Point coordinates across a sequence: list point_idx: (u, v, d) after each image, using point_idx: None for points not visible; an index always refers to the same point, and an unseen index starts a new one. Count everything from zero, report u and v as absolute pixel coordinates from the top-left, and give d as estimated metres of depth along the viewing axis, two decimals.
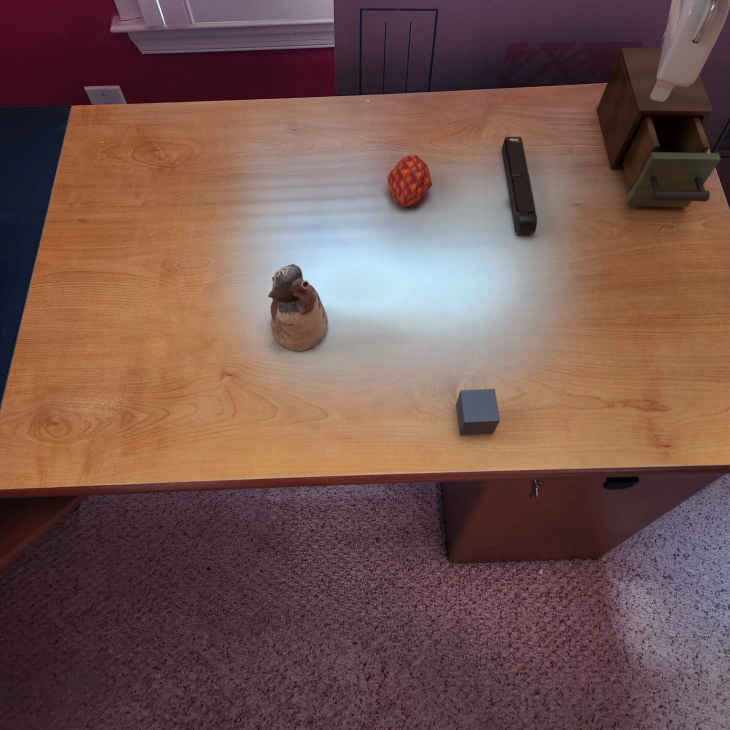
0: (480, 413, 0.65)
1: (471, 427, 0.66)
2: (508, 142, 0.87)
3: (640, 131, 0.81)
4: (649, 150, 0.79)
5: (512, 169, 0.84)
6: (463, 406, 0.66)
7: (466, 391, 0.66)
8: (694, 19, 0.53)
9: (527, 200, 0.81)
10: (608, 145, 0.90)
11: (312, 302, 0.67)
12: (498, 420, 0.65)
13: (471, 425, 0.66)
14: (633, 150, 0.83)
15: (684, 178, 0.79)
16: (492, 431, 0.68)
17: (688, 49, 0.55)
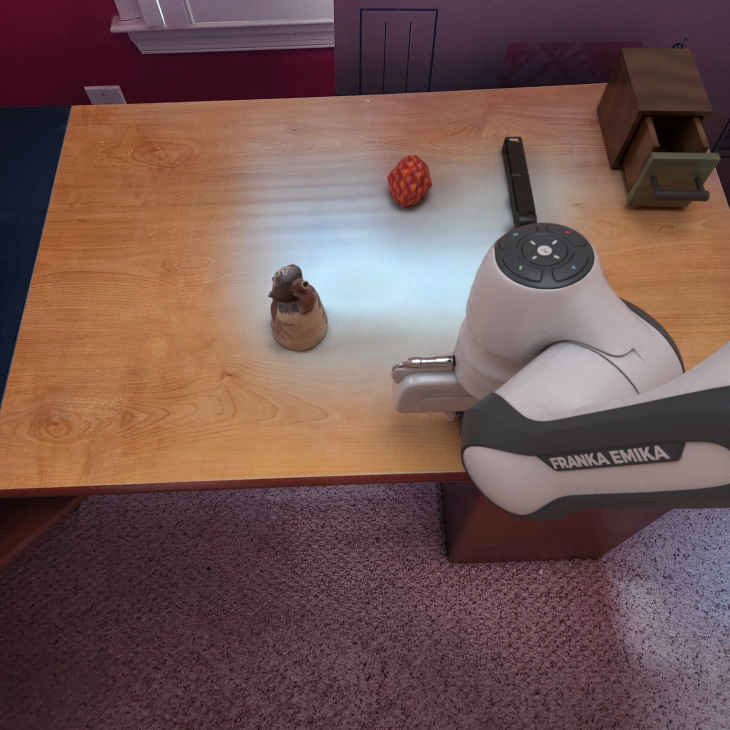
0: None
1: None
2: (508, 142, 0.87)
3: (640, 131, 0.81)
4: (649, 150, 0.79)
5: (512, 169, 0.84)
6: None
7: None
8: None
9: (527, 200, 0.81)
10: (608, 145, 0.90)
11: (312, 302, 0.67)
12: None
13: None
14: (633, 150, 0.83)
15: (684, 178, 0.79)
16: None
17: None
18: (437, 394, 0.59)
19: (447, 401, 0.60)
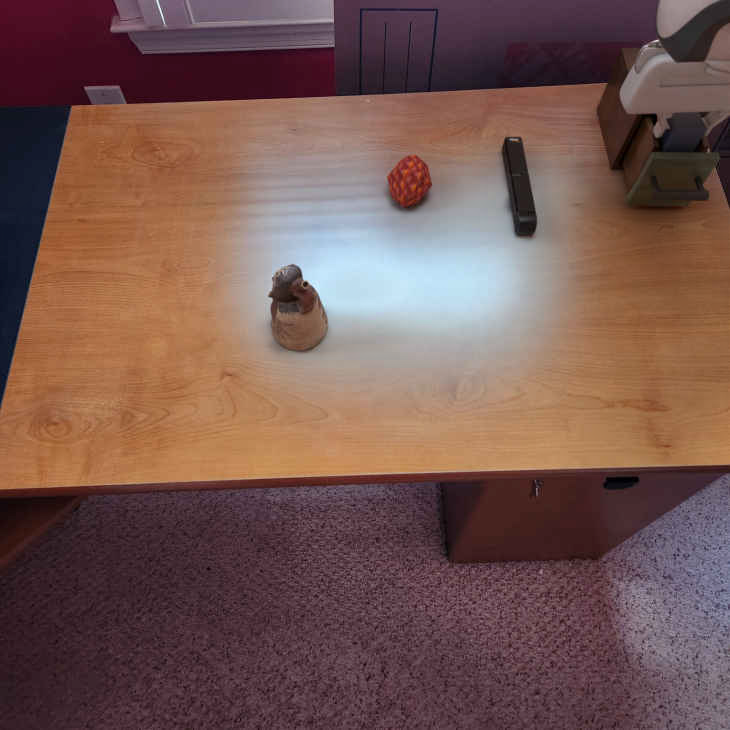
0: (689, 124, 0.75)
1: (678, 140, 0.76)
2: (508, 142, 0.87)
3: (640, 131, 0.81)
4: (648, 149, 0.79)
5: (512, 169, 0.84)
6: (673, 120, 0.76)
7: None
8: None
9: (527, 200, 0.81)
10: (608, 145, 0.90)
11: (312, 302, 0.67)
12: (705, 129, 0.75)
13: (680, 137, 0.76)
14: (633, 150, 0.83)
15: (684, 178, 0.79)
16: (692, 149, 0.78)
17: (632, 76, 0.70)
18: (671, 81, 0.69)
19: (677, 91, 0.70)
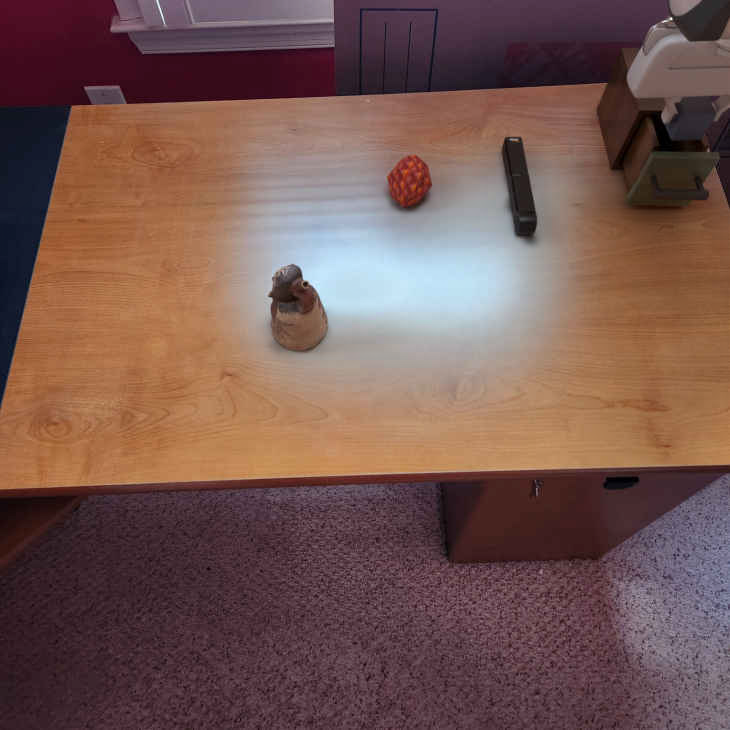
0: (698, 109, 0.73)
1: (687, 126, 0.74)
2: (508, 142, 0.87)
3: (640, 130, 0.81)
4: (648, 149, 0.79)
5: (512, 169, 0.84)
6: (682, 104, 0.74)
7: None
8: None
9: (527, 200, 0.81)
10: (608, 145, 0.90)
11: (312, 302, 0.67)
12: (715, 114, 0.73)
13: (689, 122, 0.74)
14: (633, 149, 0.83)
15: (684, 177, 0.79)
16: (701, 135, 0.76)
17: (641, 59, 0.68)
18: (681, 63, 0.67)
19: (686, 74, 0.68)
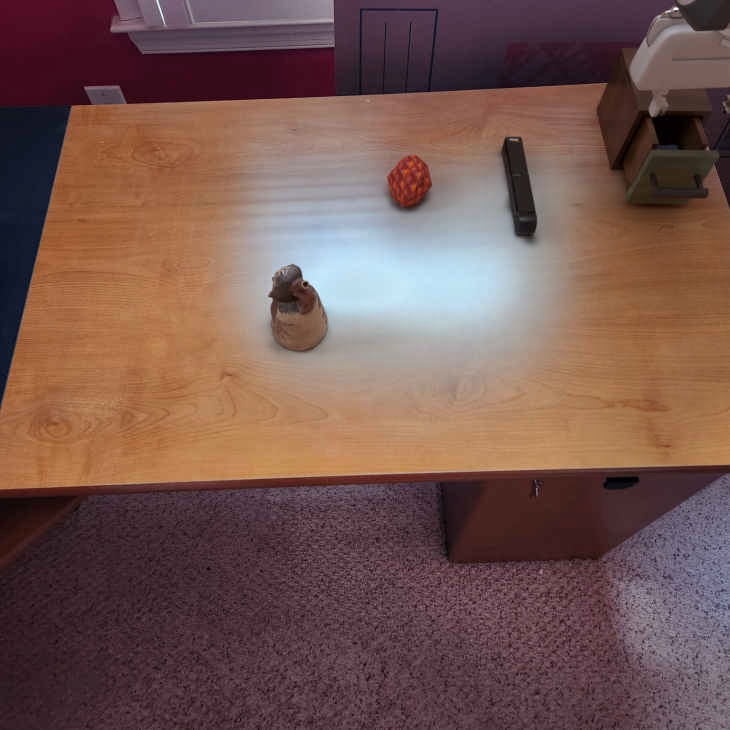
0: None
1: None
2: (508, 142, 0.87)
3: (639, 129, 0.82)
4: (648, 147, 0.79)
5: (512, 169, 0.84)
6: None
7: None
8: None
9: (527, 200, 0.81)
10: (608, 145, 0.90)
11: (312, 302, 0.67)
12: None
13: None
14: (632, 148, 0.84)
15: (683, 175, 0.79)
16: None
17: (644, 50, 0.67)
18: (685, 54, 0.66)
19: (690, 66, 0.67)
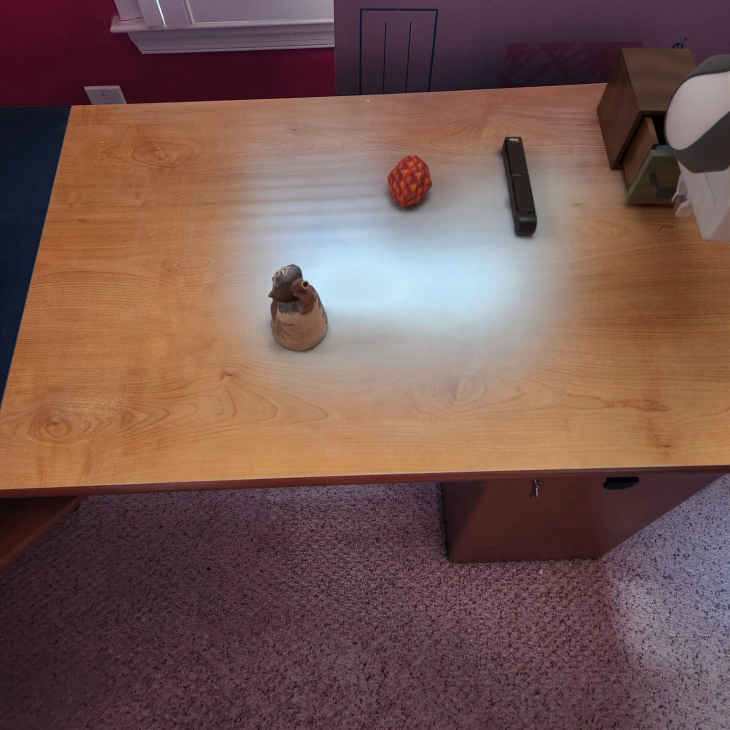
0: None
1: None
2: (508, 142, 0.87)
3: (639, 129, 0.82)
4: (648, 147, 0.79)
5: (512, 169, 0.84)
6: None
7: None
8: None
9: (527, 200, 0.81)
10: (608, 145, 0.90)
11: (312, 302, 0.67)
12: None
13: None
14: (632, 148, 0.84)
15: None
16: None
17: None
18: None
19: None
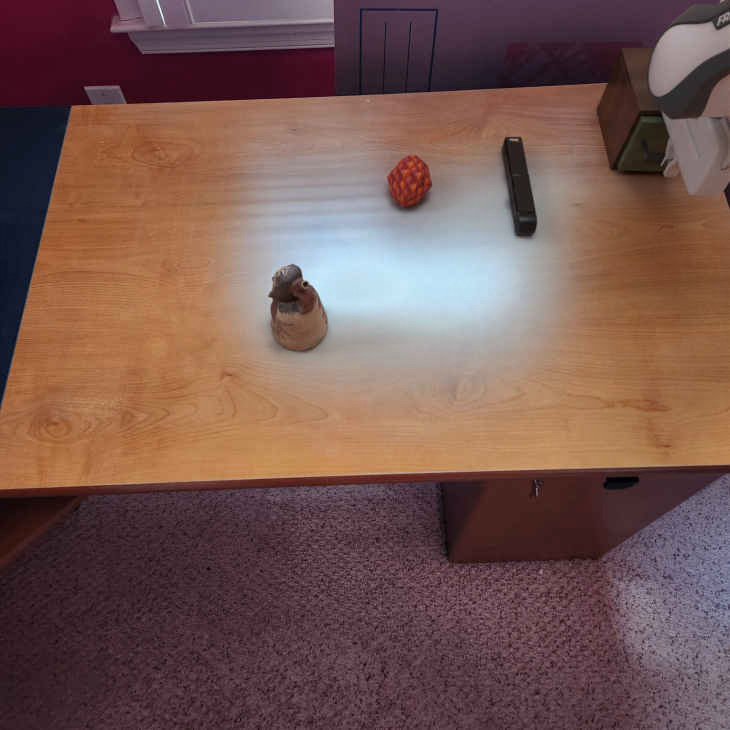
0: None
1: None
2: (508, 142, 0.87)
3: None
4: None
5: (512, 169, 0.84)
6: None
7: None
8: (722, 155, 0.66)
9: (527, 200, 0.81)
10: (608, 145, 0.90)
11: (312, 302, 0.67)
12: None
13: None
14: None
15: None
16: None
17: (718, 174, 0.68)
18: None
19: None
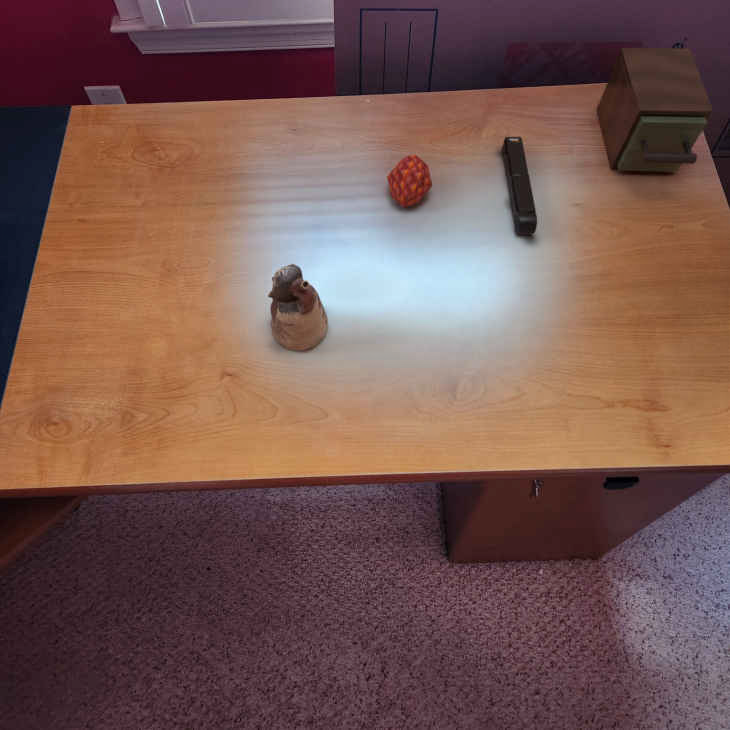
0: None
1: None
2: (508, 142, 0.87)
3: None
4: None
5: (512, 169, 0.84)
6: None
7: None
8: None
9: (527, 200, 0.81)
10: (608, 145, 0.90)
11: (312, 302, 0.67)
12: None
13: None
14: None
15: (673, 142, 0.82)
16: None
17: None
18: None
19: None
